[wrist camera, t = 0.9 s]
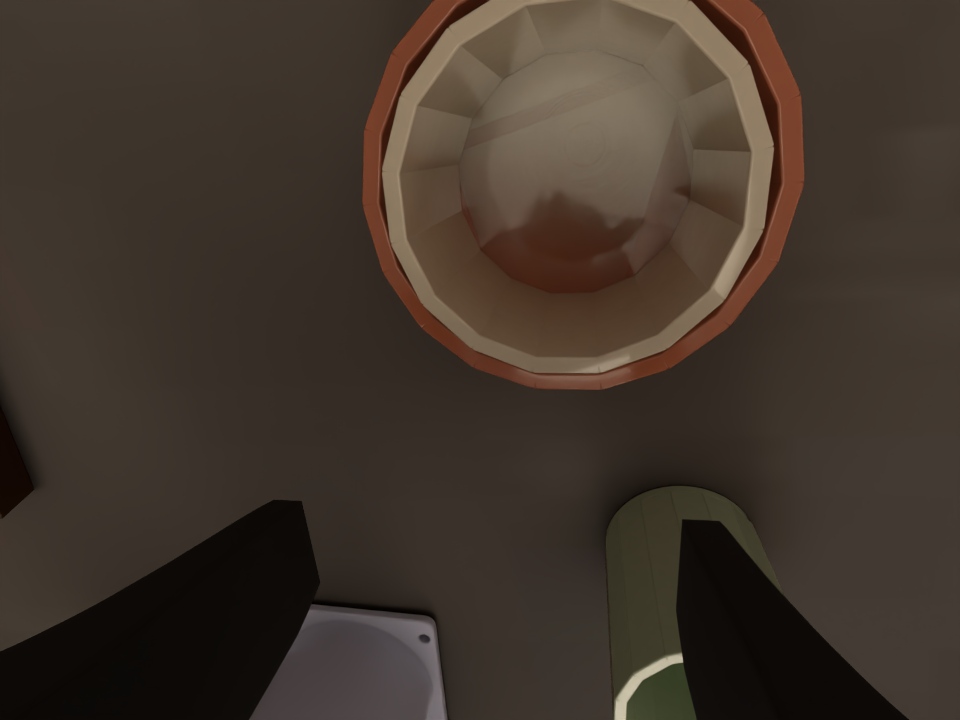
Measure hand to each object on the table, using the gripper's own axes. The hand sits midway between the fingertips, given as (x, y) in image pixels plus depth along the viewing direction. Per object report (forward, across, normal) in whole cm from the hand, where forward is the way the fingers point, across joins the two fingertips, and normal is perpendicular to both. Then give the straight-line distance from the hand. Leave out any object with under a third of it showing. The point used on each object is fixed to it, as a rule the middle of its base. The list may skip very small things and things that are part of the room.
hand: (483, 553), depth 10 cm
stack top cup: (+10, -2, -6) cm, 11 cm away
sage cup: (+10, -5, +8) cm, 13 cm away
